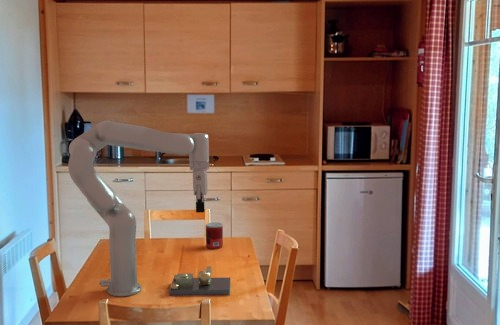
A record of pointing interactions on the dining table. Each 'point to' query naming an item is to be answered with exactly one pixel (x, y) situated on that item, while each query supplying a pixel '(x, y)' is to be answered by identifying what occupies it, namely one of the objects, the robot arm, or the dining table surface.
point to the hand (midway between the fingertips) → (200, 211)
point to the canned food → (214, 235)
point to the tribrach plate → (198, 286)
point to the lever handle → (205, 276)
